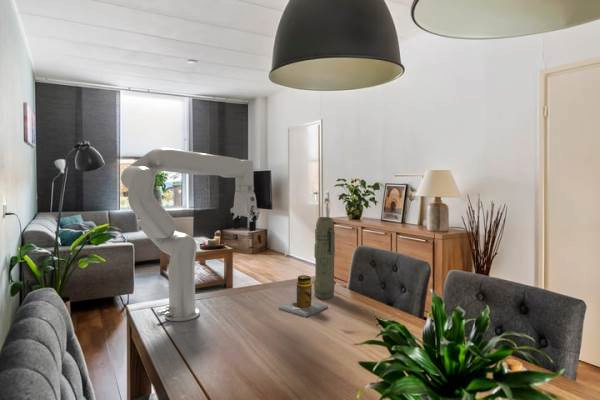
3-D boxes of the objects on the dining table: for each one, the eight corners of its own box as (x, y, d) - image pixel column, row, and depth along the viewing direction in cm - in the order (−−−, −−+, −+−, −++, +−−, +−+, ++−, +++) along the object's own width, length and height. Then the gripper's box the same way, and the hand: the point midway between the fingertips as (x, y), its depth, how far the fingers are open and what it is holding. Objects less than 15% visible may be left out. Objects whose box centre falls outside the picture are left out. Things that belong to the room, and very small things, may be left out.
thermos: (321, 290, 177) (322, 215, 175) (340, 297, 168) (341, 218, 166) (307, 294, 172) (308, 217, 169) (326, 301, 163) (327, 219, 160)
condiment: (314, 308, 152) (314, 278, 151) (293, 309, 150) (293, 279, 149) (309, 302, 159) (309, 273, 158) (289, 303, 157) (289, 274, 156)
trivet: (305, 317, 144) (305, 315, 144) (278, 309, 153) (278, 306, 153) (327, 307, 155) (327, 305, 155) (301, 300, 164) (301, 298, 164)
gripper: (265, 189, 159) (265, 230, 160) (237, 188, 170) (238, 226, 171) (252, 190, 153) (252, 232, 154) (224, 188, 164) (224, 228, 165)
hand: (244, 229), depth 163 cm, fingers open, 9 cm apart
